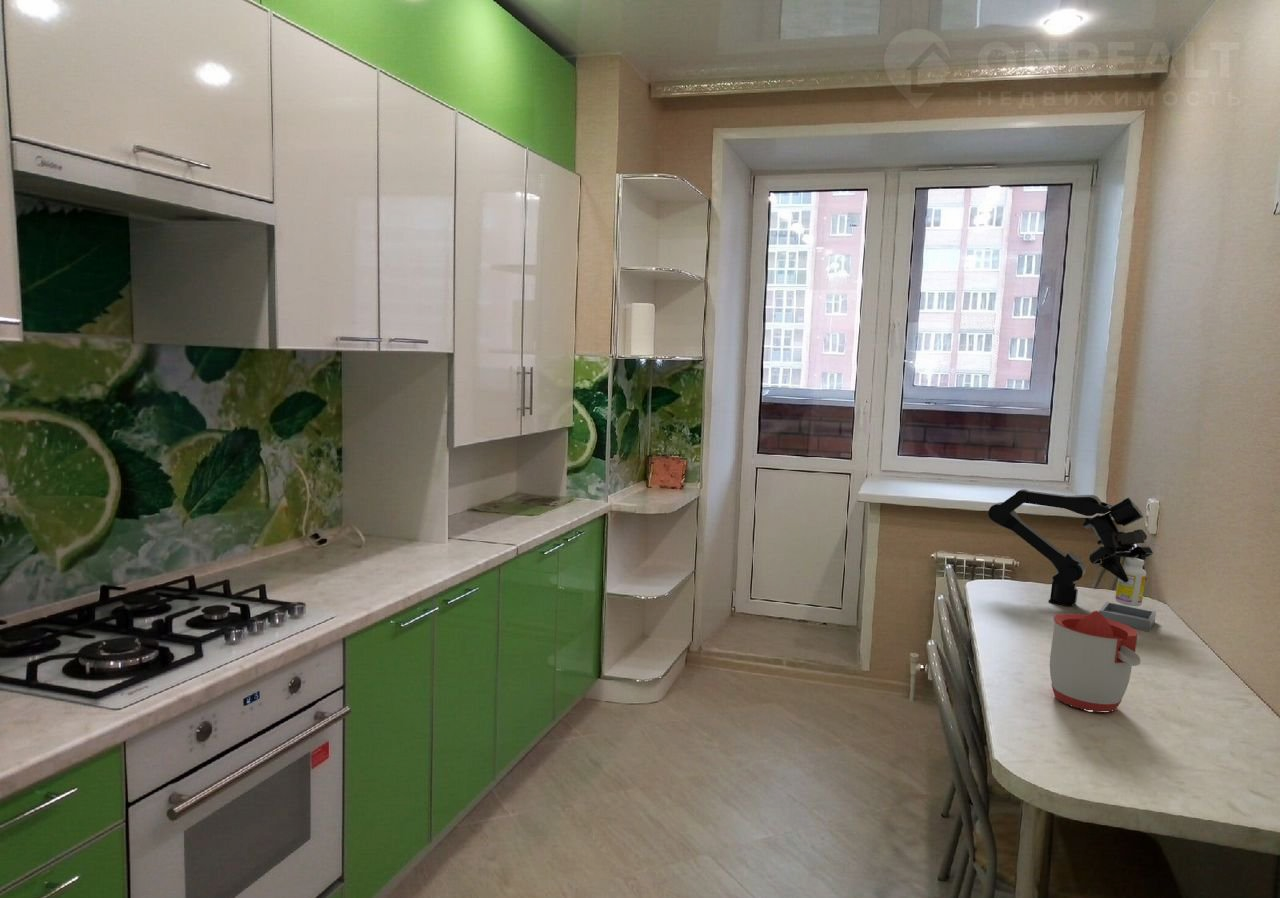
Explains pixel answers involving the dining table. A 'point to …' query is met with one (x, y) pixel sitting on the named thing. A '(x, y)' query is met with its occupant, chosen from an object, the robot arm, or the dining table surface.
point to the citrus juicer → (1091, 660)
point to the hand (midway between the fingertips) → (1135, 581)
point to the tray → (1129, 616)
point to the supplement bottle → (1132, 583)
